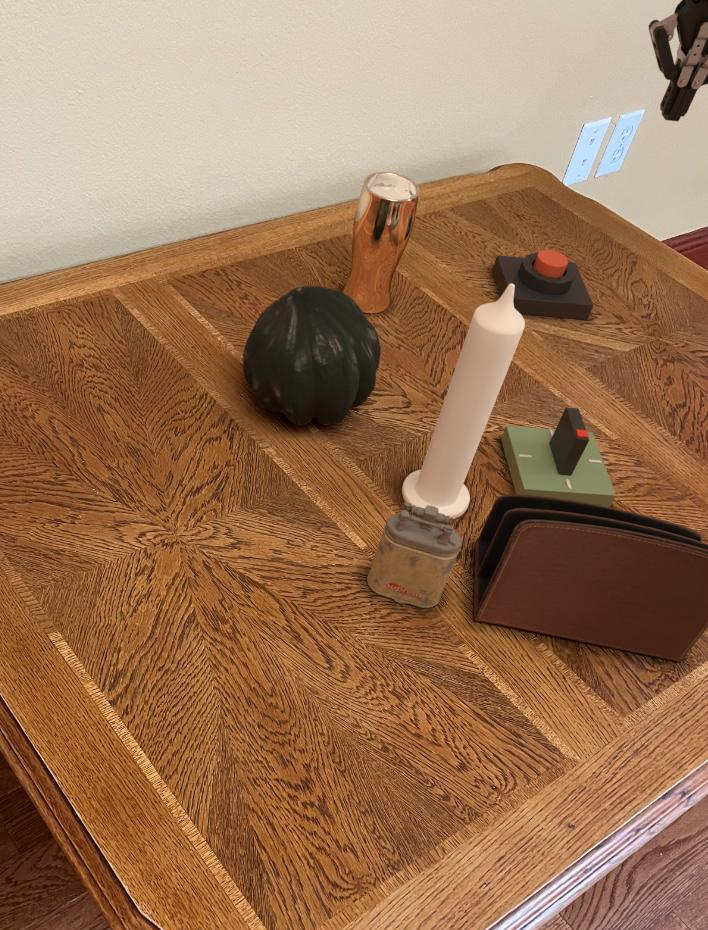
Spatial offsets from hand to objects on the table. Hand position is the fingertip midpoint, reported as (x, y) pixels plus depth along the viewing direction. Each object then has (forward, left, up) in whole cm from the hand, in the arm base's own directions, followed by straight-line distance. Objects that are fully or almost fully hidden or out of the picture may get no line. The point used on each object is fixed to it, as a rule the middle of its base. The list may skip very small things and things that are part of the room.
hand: (669, 117), depth 109 cm
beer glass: (+32, +7, -23) cm, 40 cm away
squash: (+41, +28, -23) cm, 55 cm away
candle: (+28, +42, -23) cm, 56 cm away
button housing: (+8, +2, -23) cm, 24 cm away
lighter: (+33, +55, -23) cm, 68 cm away
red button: (+8, +2, -19) cm, 21 cm away
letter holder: (+16, +55, -23) cm, 62 cm away
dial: (+14, +37, -21) cm, 45 cm away
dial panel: (+14, +37, -23) cm, 46 cm away
